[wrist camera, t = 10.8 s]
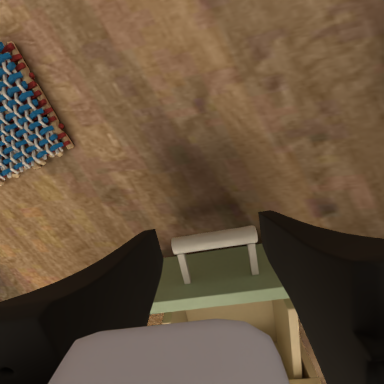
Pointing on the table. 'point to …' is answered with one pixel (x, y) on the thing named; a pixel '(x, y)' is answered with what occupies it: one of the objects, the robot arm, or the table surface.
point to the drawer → (229, 289)
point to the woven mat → (25, 118)
